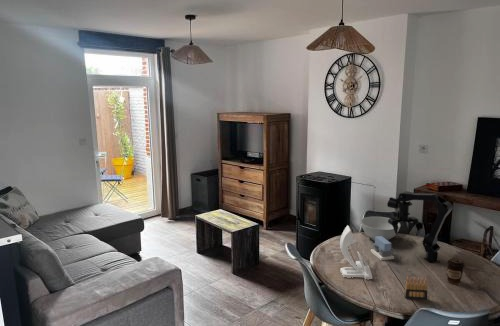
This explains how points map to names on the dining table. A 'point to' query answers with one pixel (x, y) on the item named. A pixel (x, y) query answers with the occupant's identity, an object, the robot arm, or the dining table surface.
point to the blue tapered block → (383, 243)
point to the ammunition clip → (416, 289)
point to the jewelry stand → (354, 271)
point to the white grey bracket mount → (381, 253)
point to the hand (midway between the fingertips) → (402, 233)
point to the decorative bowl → (378, 227)
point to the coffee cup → (454, 270)
